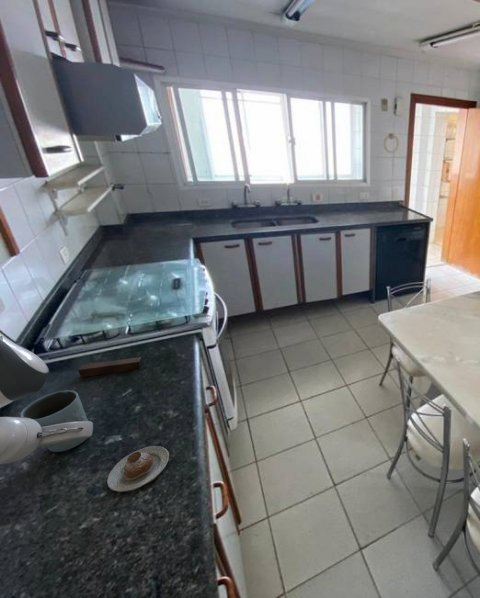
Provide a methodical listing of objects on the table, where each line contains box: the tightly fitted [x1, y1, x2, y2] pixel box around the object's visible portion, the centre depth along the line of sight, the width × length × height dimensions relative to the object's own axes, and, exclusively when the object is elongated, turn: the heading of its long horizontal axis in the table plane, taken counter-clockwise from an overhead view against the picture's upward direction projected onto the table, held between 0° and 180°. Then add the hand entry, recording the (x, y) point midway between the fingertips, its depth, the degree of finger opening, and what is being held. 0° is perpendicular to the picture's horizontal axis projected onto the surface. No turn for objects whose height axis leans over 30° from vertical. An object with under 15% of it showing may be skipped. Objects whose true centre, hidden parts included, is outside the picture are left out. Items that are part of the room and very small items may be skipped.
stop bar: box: [77, 356, 143, 378], centre depth 110 cm, size 16×3×3 cm, turn 112°
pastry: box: [106, 445, 170, 493], centre depth 78 cm, size 12×12×5 cm
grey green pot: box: [19, 389, 89, 453], centre depth 83 cm, size 10×10×12 cm
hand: (51, 438), depth 79 cm, fingers closed
